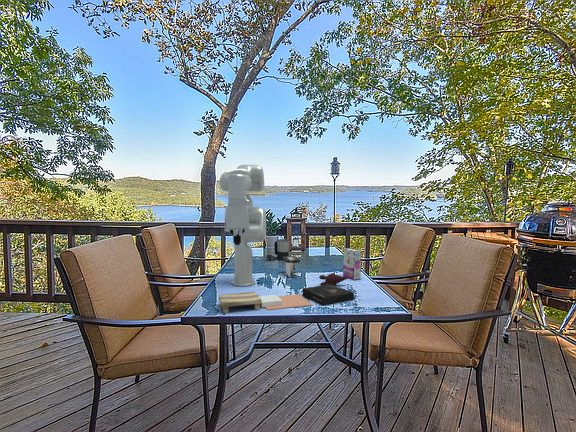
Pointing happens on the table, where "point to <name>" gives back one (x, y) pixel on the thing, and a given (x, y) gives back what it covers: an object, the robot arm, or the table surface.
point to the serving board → (239, 300)
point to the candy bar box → (352, 264)
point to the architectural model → (290, 263)
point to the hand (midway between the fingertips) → (237, 244)
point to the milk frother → (280, 249)
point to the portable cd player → (327, 294)
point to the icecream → (332, 279)
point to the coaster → (270, 301)
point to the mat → (291, 302)
